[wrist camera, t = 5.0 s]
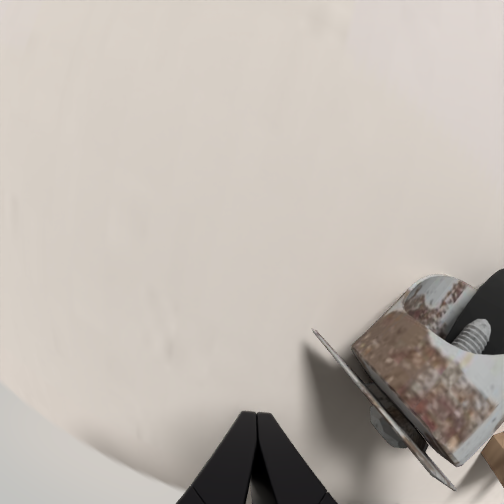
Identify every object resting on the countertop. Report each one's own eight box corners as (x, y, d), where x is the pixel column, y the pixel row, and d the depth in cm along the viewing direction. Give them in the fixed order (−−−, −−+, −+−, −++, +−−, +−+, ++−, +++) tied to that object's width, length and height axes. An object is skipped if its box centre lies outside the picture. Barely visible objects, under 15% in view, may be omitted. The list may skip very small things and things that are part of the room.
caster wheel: (499, 314, 14) (394, 430, 14) (465, 162, 10) (296, 336, 10) (571, 360, 8) (454, 503, 8) (601, 190, 4) (410, 493, 4)
